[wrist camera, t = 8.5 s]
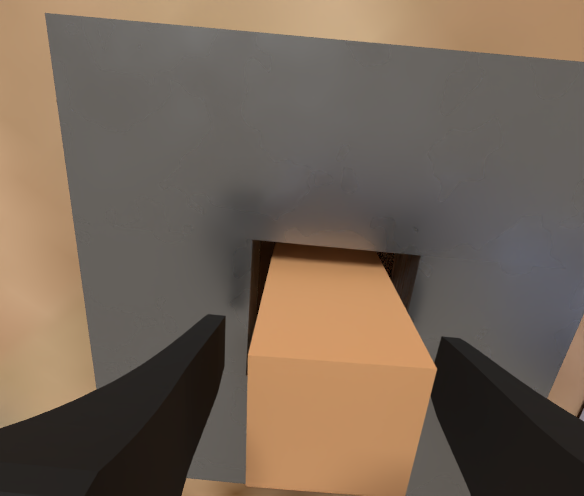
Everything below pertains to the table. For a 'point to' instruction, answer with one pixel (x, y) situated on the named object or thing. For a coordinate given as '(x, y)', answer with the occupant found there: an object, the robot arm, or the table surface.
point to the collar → (319, 196)
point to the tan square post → (334, 377)
